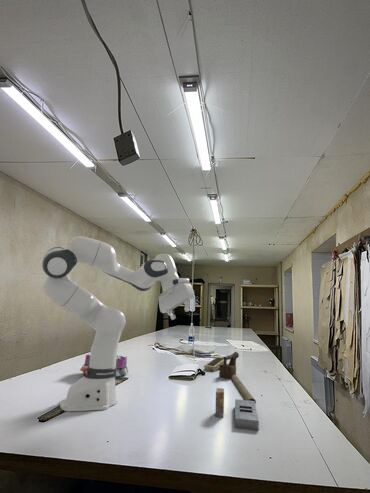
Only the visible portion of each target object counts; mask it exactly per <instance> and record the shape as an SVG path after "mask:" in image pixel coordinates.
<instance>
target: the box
mask: <svg viewBox="0 0 370 493" xmlns="http://www.w3.org/2000/svg"><path fill="white" fill-rule="evenodd" d="M223 358H224V357H221V356H215V358H213V359H211V360H210V361H208V362H207V363H205V364H204V365H203V367H204V371H206V372H207V373H211V372H216V371H218V370H219V369H220V365H223V363H224V359H223Z"/></svg>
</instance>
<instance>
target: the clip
mask: <svg viewBox="0 0 370 493" xmlns="http://www.w3.org/2000/svg"><path fill="white" fill-rule="evenodd" d="M224 411H225V388H223V387H222V388H221V387H216V390H215V414H214V415H215V418H222V419H224V415H225V414H224V413H225V412H224Z"/></svg>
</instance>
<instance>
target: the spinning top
mask: <svg viewBox="0 0 370 493" xmlns="http://www.w3.org/2000/svg"><path fill="white" fill-rule="evenodd" d="M127 360H128V356H122V355H118V354H117V358H116V367H117V375H116V377H122V376H124V375H126V374H128V373H129V369H128V366H127V363H128V362H127ZM89 363H90V354H89V353H88V354H85V360H84V364H83V365H82V366H81V368H82V367H86V368H87V367H89ZM81 368H80V369H79V371H81ZM81 372H82V371H81Z"/></svg>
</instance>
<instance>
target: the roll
mask: <svg viewBox="0 0 370 493" xmlns="http://www.w3.org/2000/svg"><path fill="white" fill-rule="evenodd" d="M231 380H232V382H233V383H234V385H235V386H236V387H237V389H238V391H239V392H240V394H241V396H242V397H243V398H244V400H248V401H255V404H256V403H257V401H256V399H255V398H254V397H253V395H252V394H251V393H250V391H249V390H248V389H247V388H246V386H245V385H244V383H243V382H242V381H241V380H240V378H239V377H238V376H237V374H236V375H233V376H232V379H231Z"/></svg>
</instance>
